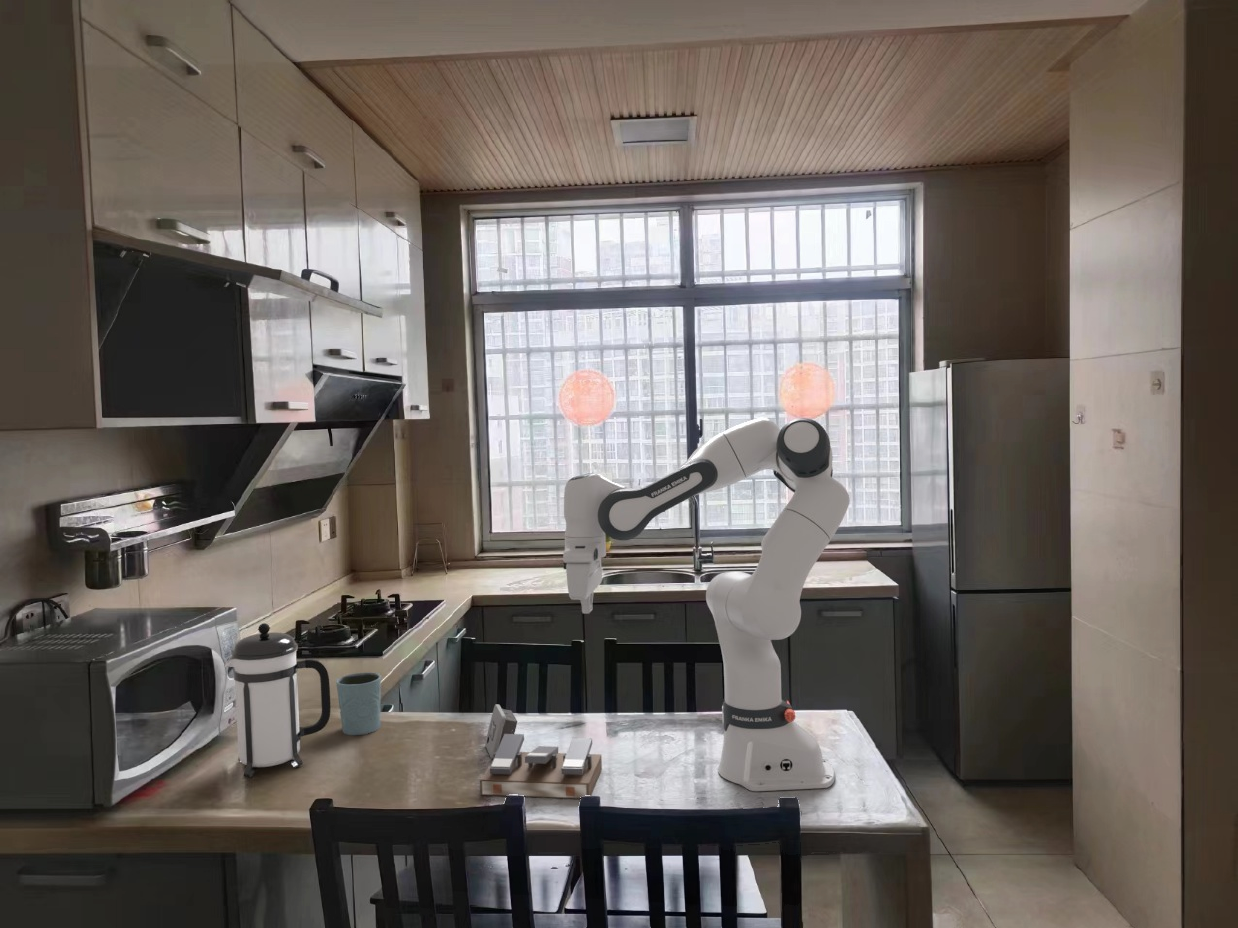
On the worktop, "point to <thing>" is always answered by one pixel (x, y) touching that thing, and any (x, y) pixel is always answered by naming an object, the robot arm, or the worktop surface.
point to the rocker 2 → (576, 756)
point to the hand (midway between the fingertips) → (587, 612)
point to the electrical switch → (499, 728)
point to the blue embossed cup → (359, 702)
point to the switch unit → (543, 779)
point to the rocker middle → (541, 754)
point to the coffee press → (271, 699)
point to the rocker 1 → (507, 754)
